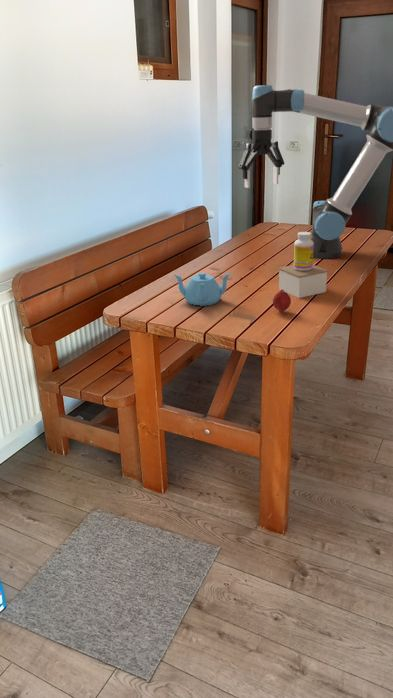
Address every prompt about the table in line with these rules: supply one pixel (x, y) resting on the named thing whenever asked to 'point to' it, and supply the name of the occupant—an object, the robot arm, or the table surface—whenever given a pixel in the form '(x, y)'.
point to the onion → (281, 301)
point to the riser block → (302, 281)
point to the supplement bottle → (303, 252)
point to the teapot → (202, 289)
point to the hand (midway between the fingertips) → (261, 185)
